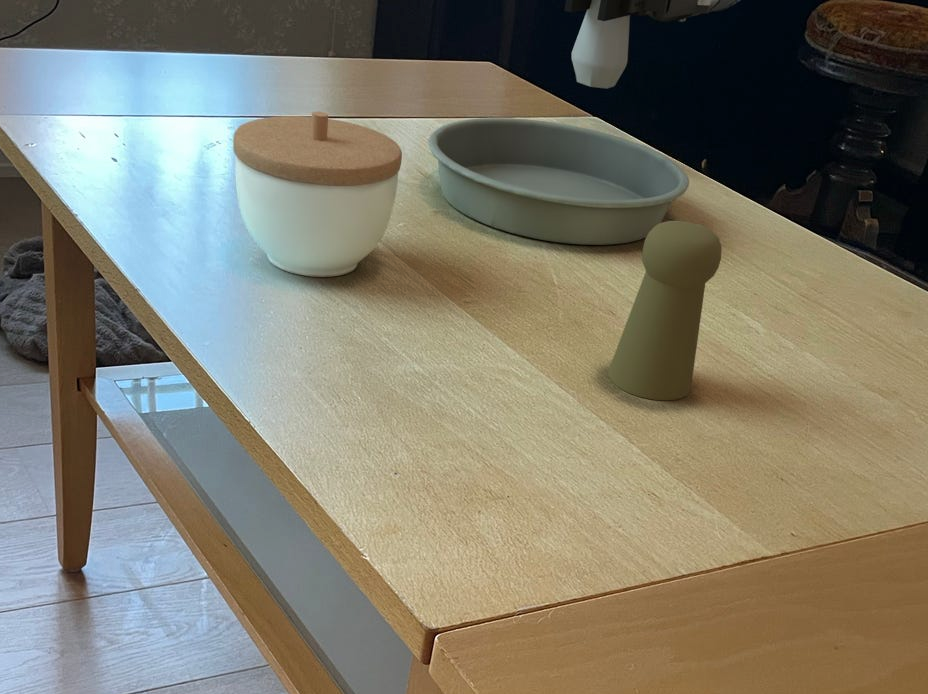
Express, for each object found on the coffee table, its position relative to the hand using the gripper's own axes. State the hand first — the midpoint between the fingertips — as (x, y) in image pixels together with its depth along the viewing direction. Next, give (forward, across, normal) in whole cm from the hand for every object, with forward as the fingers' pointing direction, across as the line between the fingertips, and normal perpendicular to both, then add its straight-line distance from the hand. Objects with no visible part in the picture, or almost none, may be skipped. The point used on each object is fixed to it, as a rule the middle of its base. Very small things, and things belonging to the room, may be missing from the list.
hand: (587, 0), depth 113 cm
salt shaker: (-5, 0, -8) cm, 10 cm away
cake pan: (+13, -6, -15) cm, 21 cm away
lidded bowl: (+42, 0, -15) cm, 45 cm away
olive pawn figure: (+41, -29, -15) cm, 53 cm away
